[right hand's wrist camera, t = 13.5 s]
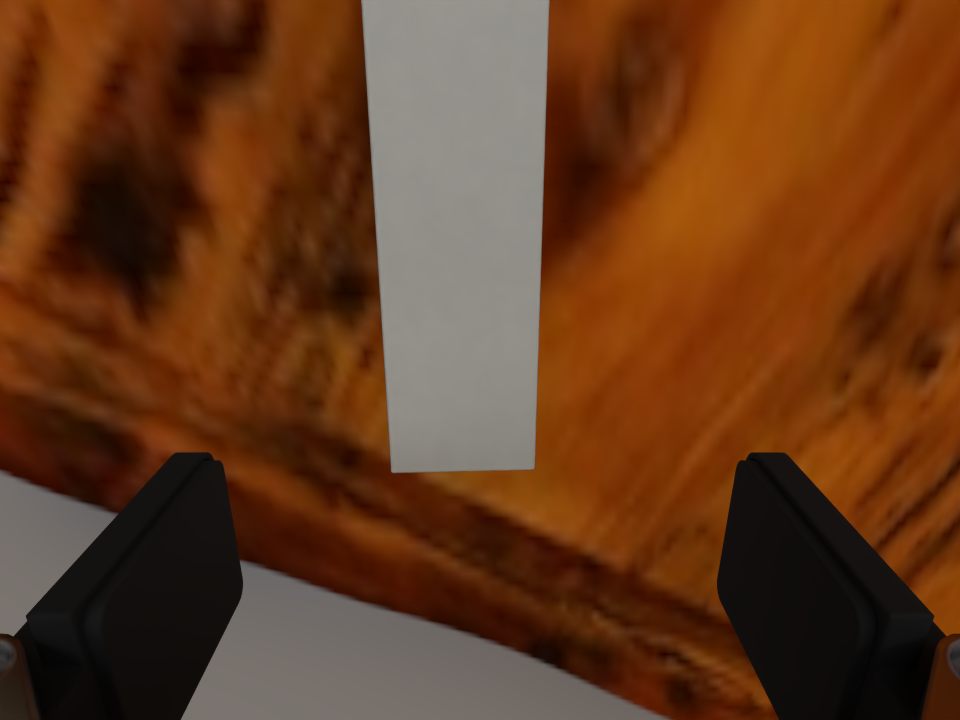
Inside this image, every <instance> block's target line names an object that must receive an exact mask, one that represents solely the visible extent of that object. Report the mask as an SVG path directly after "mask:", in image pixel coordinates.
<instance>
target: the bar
mask: <svg viewBox="0 0 960 720" xmlns="http://www.w3.org/2000/svg"><path fill="white" fill-rule="evenodd" d="M361 4H362V19H363V35H364V51H365V67H366V82H367V98H368V114H369V130H370V145H371V161H372V177H373V193H374V208H375V224H376V240H377V256H378V271H379V287H380V303H381V319H382V334H383V350H384V366H385V382H386V397H387V413H388V429H389V445H390V460H391V471H392V473H409V472H453V471H497V470H533V469H534V468H535V441H536V410H537V378H538V346H539V314H540V282H541V250H542V218H543V186H544V154H545V123H546V91H547V59H548V27H549V0H361Z"/></svg>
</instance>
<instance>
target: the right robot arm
mask: <svg viewBox="0 0 960 720" xmlns="http://www.w3.org/2000/svg"><path fill="white" fill-rule="evenodd" d="M242 589H243V578H242V572H241V566H240V560H239V554H238V549H237V543H236V537H235V531H234V525H233V519H232V513H231V508H230V502H229V496H228V490H227V484H226V478H225V472H224V467H223V464H222V463H221V461H219V460H214V458H213V457H212V455H211V454H210V453H175V454H173V455H172V456H171V457H170V458H169V459H168V460H167V462H166V463H165V464H164V465H163V466H162V467H161V468H160V469H159V470H158V471H157V472H156V474H155V475H154V476H153V477H152V478H151V479H150V480H149V481H148V482H147V483H146V485H145V486H144V487H143V488H142V489H141V490H140V491H139V492H138V493H137V494H136V496H135V497H134V498H133V499H132V500H131V501H130V502H129V503H128V504H127V505H126V506H125V508H124V509H123V510H122V511H121V512H120V513H119V514H118V515H117V516H116V517H115V519H114V520H113V521H112V522H111V523H110V524H109V525H108V526H107V527H106V528H105V529H104V531H103V532H102V533H101V534H100V535H99V536H98V537H97V538H96V539H95V540H94V542H93V543H92V544H91V545H90V546H89V547H88V548H87V549H86V550H85V551H84V553H83V554H82V555H81V556H80V557H79V558H78V559H77V560H76V561H75V562H74V563H73V565H72V566H71V567H70V568H69V569H68V570H67V571H66V572H65V573H64V574H63V576H62V577H61V578H60V579H59V580H58V581H57V582H56V583H55V584H54V585H53V587H52V588H51V589H50V590H49V591H48V592H47V593H46V594H45V595H44V596H43V597H42V599H41V600H40V601H39V602H38V603H37V604H36V605H35V606H34V607H33V608H32V610H31V611H30V612H29V613H28V614H27V615H26V618H27V622H26V623H25V624H24V625H23V626H22V628H21V629H20V630H19V631H18V632H17V633H16V634H15V635H14V636H11V635H9V634H0V720H181V718H182V716H183V714H184V712H185V710H186V708H187V706H188V704H189V702H190V700H191V698H192V696H193V694H194V692H195V690H196V688H197V686H198V684H199V682H200V680H201V678H202V676H203V674H204V672H205V670H206V668H207V666H208V664H209V662H210V660H211V658H212V656H213V654H214V652H215V650H216V648H217V646H218V644H219V642H220V640H221V638H222V635H223V634H224V632H225V630H226V628H227V625H228V624H229V621H230V619H231V617H232V615H233V613H234V611H235V609H236V607H237V605H238V603H239V601H240V599H241V595H242ZM717 590H718V595H719V599H720V601H721V603H722V605H723V607H724V609H725V611H726V613H727V615H728V617H729V620H730V622H731V624H732V626H733V628H734V630H735V632H736V634H737V636H738V638H739V640H740V642H741V644H742V646H743V648H744V650H745V652H746V654H747V656H748V658H749V660H750V662H751V664H752V666H753V668H754V670H755V672H756V674H757V676H758V678H759V680H760V682H761V684H762V686H763V688H764V690H765V692H766V694H767V696H768V698H769V700H770V702H771V704H772V706H773V708H774V710H775V712H776V714H777V716H778V718H779V720H960V634H951V635H949V636H946V635H945V634H944V633H943V632H942V631H941V630H940V629H939V628H938V626H937V625H936V624H935V623H934V622H933V618H934V615H933V614H932V613H931V612H930V611H929V610H928V608H927V607H926V606H925V605H924V604H923V603H922V602H921V601H920V600H919V599H918V597H917V596H916V595H915V594H914V593H913V592H912V591H911V590H910V589H909V588H908V587H907V585H906V584H905V583H904V582H903V581H902V580H901V579H900V578H899V577H898V576H897V574H896V573H895V572H894V571H893V570H892V569H891V568H890V567H889V566H888V565H887V563H886V562H885V561H884V560H883V559H882V558H881V557H880V556H879V555H878V554H877V553H876V551H875V550H874V549H873V548H872V547H871V546H870V545H869V544H868V543H867V542H866V540H865V539H864V538H863V537H862V536H861V535H860V534H859V533H858V532H857V531H856V529H855V528H854V527H853V526H852V525H851V524H850V523H849V522H848V521H847V520H846V519H845V517H844V516H843V515H842V514H841V513H840V512H839V511H838V510H837V509H836V508H835V506H834V505H833V504H832V503H831V502H830V501H829V500H828V499H827V498H826V497H825V496H824V494H823V493H822V492H821V491H820V490H819V489H818V488H817V487H816V486H815V485H814V483H813V482H812V481H811V480H810V479H809V478H808V477H807V476H806V475H805V474H804V472H803V471H802V470H801V469H800V468H799V467H798V466H797V465H796V464H795V463H794V462H793V460H792V459H791V458H790V457H789V456H788V455H787V454H785V453H750V454H749V455H748V457H747V458H746V460H741V461H739V463H738V464H737V467H736V472H735V478H734V484H733V490H732V496H731V502H730V508H729V513H728V519H727V525H726V531H725V537H724V543H723V549H722V554H721V560H720V566H719V572H718V578H717Z"/></svg>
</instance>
